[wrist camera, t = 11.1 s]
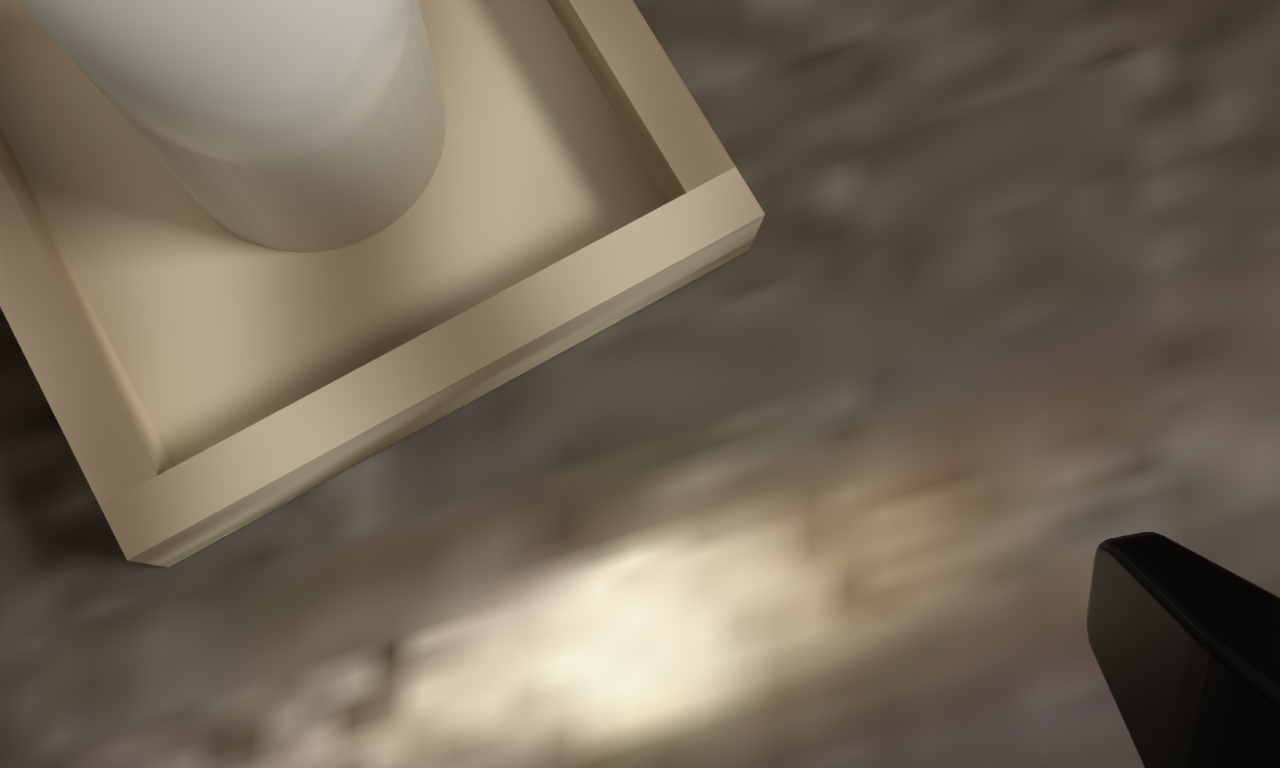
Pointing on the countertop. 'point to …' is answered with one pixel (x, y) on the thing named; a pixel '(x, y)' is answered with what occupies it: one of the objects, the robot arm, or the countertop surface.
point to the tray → (344, 265)
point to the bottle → (271, 105)
